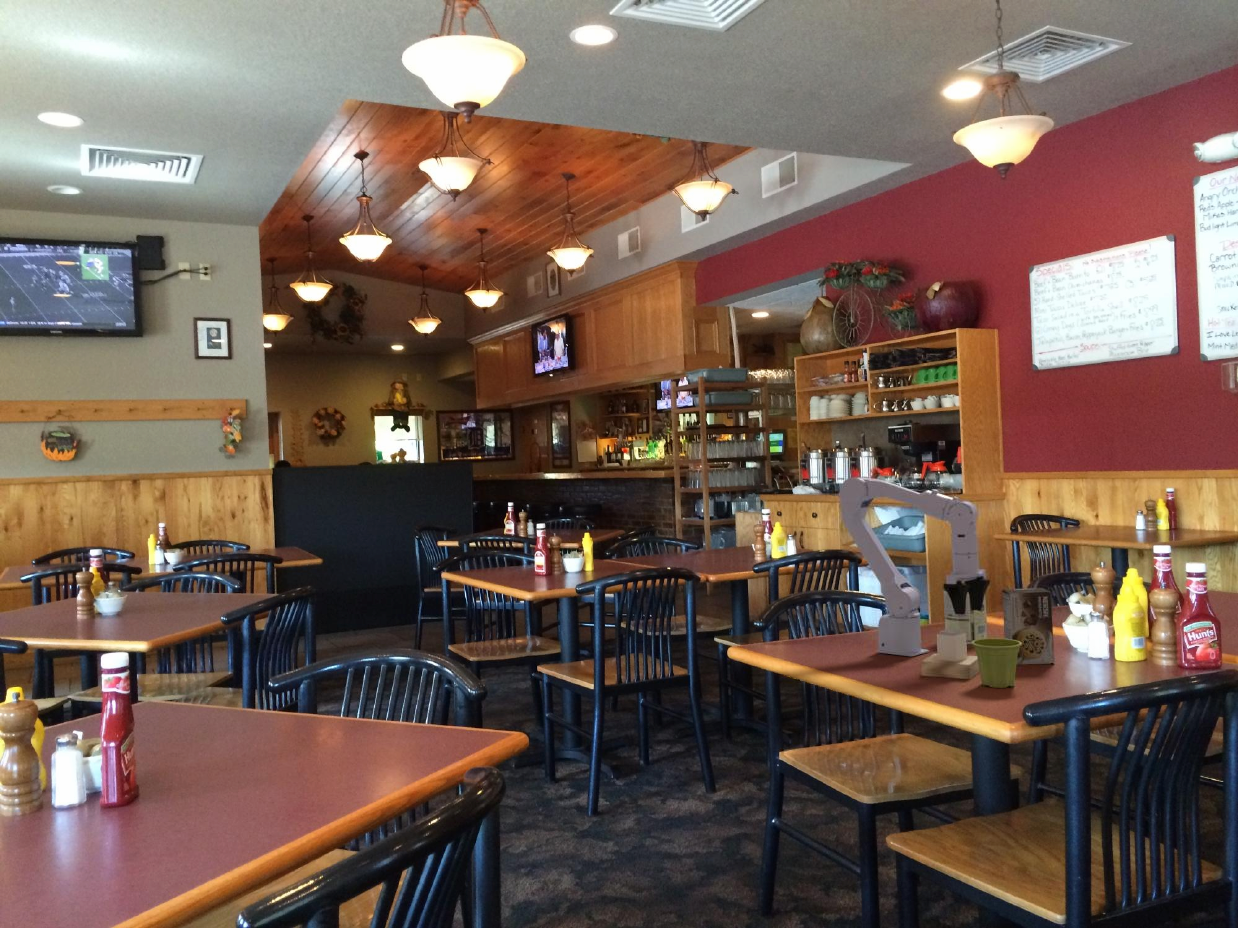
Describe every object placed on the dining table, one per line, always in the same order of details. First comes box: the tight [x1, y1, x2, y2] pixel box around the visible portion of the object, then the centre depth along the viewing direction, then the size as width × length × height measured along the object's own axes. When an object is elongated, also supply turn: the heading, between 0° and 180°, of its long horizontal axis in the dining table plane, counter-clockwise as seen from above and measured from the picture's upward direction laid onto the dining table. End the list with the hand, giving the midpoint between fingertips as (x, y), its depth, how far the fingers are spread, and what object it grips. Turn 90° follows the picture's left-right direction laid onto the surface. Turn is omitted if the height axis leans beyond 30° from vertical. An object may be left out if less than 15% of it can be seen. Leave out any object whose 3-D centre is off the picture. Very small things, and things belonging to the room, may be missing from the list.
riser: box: [920, 652, 980, 680], centre depth 214 cm, size 10×10×3 cm
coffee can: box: [942, 582, 989, 645], centre depth 251 cm, size 10×10×14 cm
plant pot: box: [971, 637, 1022, 689], centre depth 201 cm, size 9×9×9 cm
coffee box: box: [1001, 587, 1056, 666], centre depth 223 cm, size 9×6×16 cm
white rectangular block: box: [936, 629, 968, 662], centre depth 214 cm, size 4×4×6 cm
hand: (968, 612), depth 230 cm, fingers open, 7 cm apart
